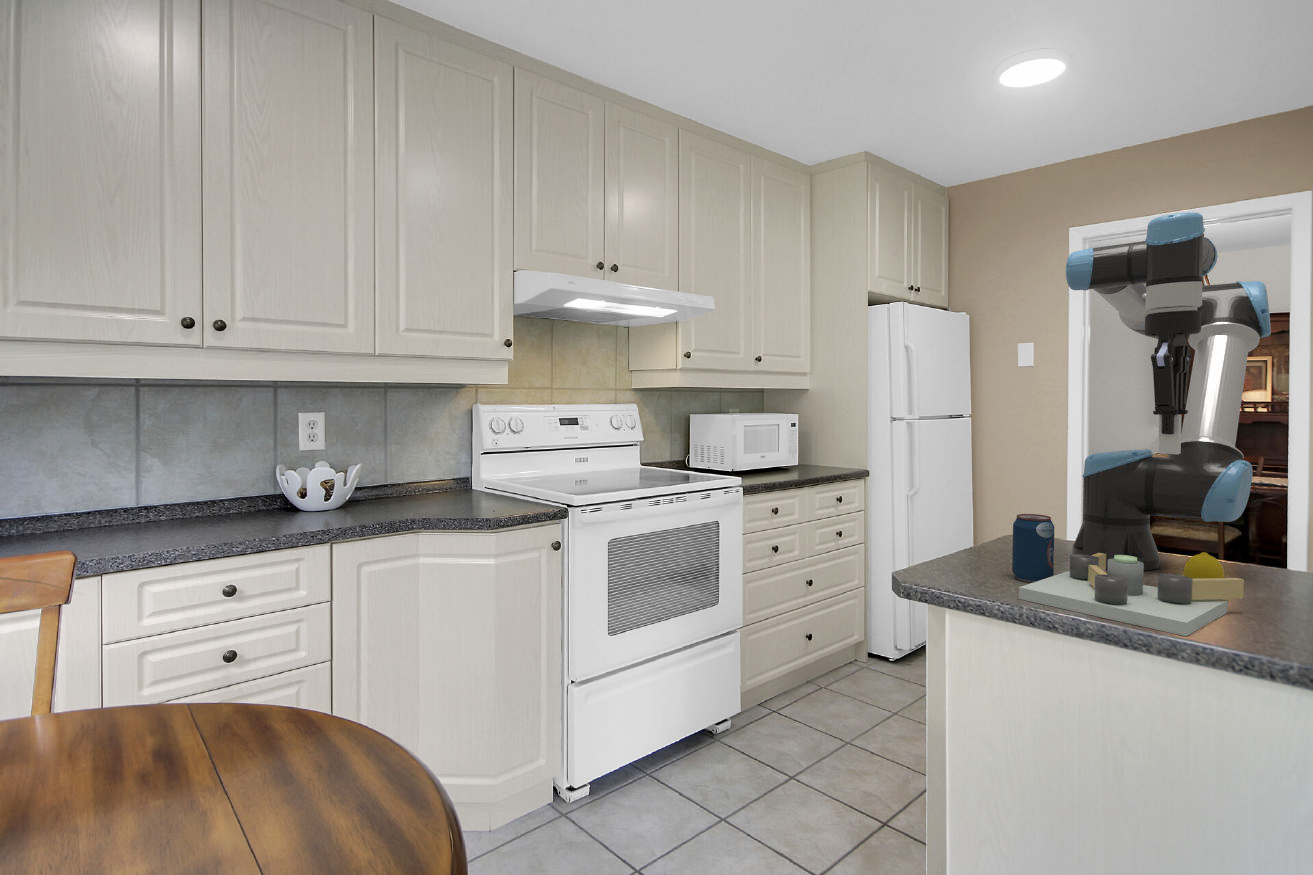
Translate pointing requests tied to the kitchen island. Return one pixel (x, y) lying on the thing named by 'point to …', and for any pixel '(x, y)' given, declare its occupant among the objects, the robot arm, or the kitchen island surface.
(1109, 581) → the front knob
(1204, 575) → the lemon
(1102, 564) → the knob
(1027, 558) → the soda can
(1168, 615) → the plate
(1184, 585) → the knob
